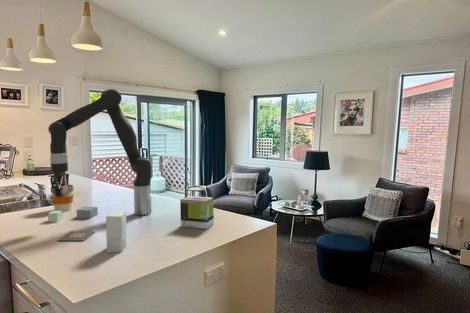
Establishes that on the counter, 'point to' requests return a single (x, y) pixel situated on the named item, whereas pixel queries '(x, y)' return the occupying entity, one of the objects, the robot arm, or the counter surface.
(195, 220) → the tea box
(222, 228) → the counter surface
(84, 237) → the card
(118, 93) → the robot arm
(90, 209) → the slate block
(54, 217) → the sage green block
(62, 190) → the walnut block
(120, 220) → the skincare box
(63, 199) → the reusable coffee cup
